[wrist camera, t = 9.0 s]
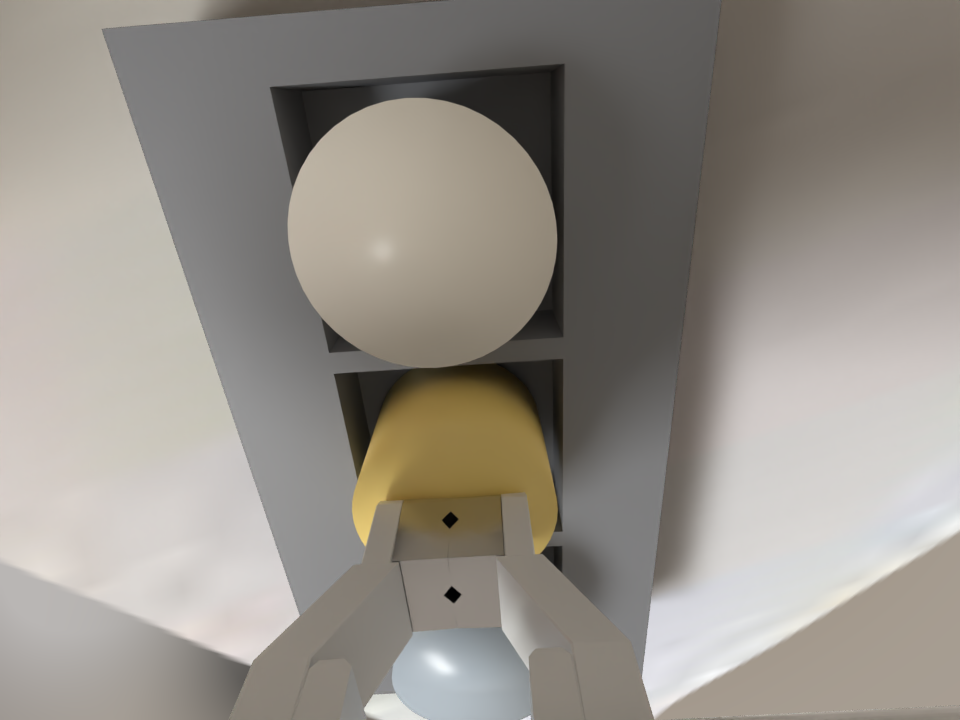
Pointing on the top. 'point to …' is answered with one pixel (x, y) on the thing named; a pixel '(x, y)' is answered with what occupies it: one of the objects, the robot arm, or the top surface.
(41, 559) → the top surface
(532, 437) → the button mustard
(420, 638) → the button slate
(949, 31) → the top surface
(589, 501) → the panel
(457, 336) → the button ivory
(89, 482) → the top surface
